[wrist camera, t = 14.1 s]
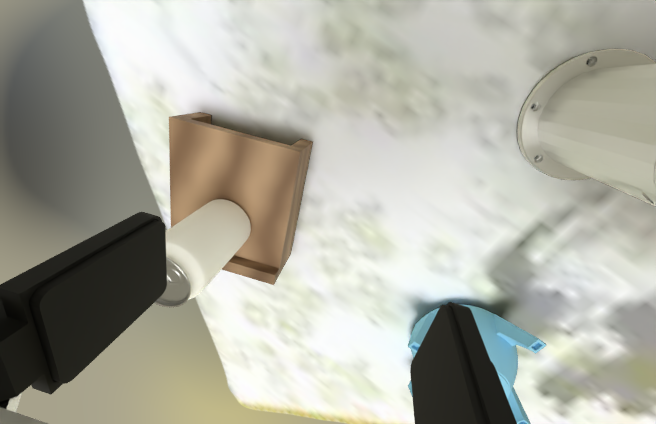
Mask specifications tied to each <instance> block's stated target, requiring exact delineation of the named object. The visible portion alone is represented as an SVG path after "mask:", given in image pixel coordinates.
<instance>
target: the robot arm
mask: <svg viewBox="0 0 656 424" xmlns="http://www.w3.org/2000/svg"><path fill="white" fill-rule="evenodd" d="M587 60H588V61H589V62H588V64H586V62H587ZM532 104H534V107H533V108H532V109H531V106H532ZM517 135H518V143H519V146H520V149H521V152H522V154H523V155H524V157H525V159H526V160H527V161H528V162H529V163H530V164H531V165H532V166H533V167H534V168H536V169H537V170H539V171H540V172H542V173H544V174H546V175H548V176H551V177H554V178H558V179H563V180H583V179H589V178H593V179H595V180H597V181H600V182H602V183H604V184H606V185H609V186H611V187H613V188H615V189H618V190H620V191H622V192H624V193H626V194H629V195H631V196H633V197H635V198H638V199H640V200H642V201H644V202H647V203H649V204H651V205H653V206H655V207H656V62H655V61H654V60H652V59H651V58H649V57H648V56H646V55H645V54H642V53H639V52H636V51H633V50H627V49H606V50H599V51H594V52H589V53H586V54H583V55H580V56H577V57H575V58H573V59H571V60H569V61H567V62H565V63H563V64H561V65H560V66H558V67H557V68H556V69H554V70H553V71H552V72H550V73H549V74H548V75H547V76H546V77H545V78H544V79H543V80H541V81H540V82H539V83H538V84H537V86H536V87H535V88H534V90H533V91H532V92H531V94H530V95H529V97H528V98H527V100H526V102H525V104H524V106H523V108H522V111H521V114H520V117H519V121H518V128H517ZM536 155H537V157H536V158H535V159H534V157H535V156H536ZM166 287H167V268H166V234H165V224H164V223H163V222H162V220H161V218H160V217H158V216H155V215H152V214H148V213H145V212H139V213H137V214H135V215H133V216H131V217H129V218H127V219H125V220H123V221H122V222H120V223H118V224H116V225H114V226H112V227H110V228H108V229H106V230H104V231H102V232H100V233H98V234H97V235H95V236H93V237H91V238H89V239H87V240H85V241H83V242H81V243H79V244H77V245H75V246H74V247H72V248H70V249H68V250H66V251H64V252H62V253H60V254H58V255H56V256H54V257H53V258H50V259H49V260H47V261H45V262H43V263H41V264H39V265H37V266H35V267H33V268H31V269H29V270H28V271H26V272H24V273H22V274H20V275H18V276H16V277H14V278H12V279H10V280H8V281H6V282H5V283H3V284H1V285H0V424H47V423H44V422H42V421H39V420H36V419H33V418H30V417H27V416H24V415H21V414H19V413H16V410H17V407H18V403H19V400H20V397H21V394H22V392H23V391H24V390H25V389H26V388H28V387H29V386H30V385H32V387H33V388H34V389H37V390H40V391H42V392H45V393H49V394H52V393H53V392H54V391H55V390H56V389H58V388H59V387H60V386H61V385H62V384H63V383H68V382H70V381H71V380H73V379H74V378H75V377H76V376H77V375H78V374H79V373H80V372H81V371H82V370H83V369H84V368H85V367H87V366H88V365H89V364H90V363H91V362H92V361H93V360H94V359H95V358H96V357H97V356H98V355H99V354H100V353H101V352H102V351H103V350H105V348H107V347H108V346H109V345H110V344H111V343H112V342H113V341H114V340H115V339H116V338H117V337H118V336H119V335H120V334H121V333H122V332H123V331H125V330H126V329H127V328H128V327H129V326H130V325H131V324H132V323H133V322H134V321H135V320H136V319H137V318H138V317H139V316H140V315H142V313H143V312H145V311H146V310H147V309H148V308H149V307H150V306H151V305H152V304H153V303H154V302H155V301H156V300H157V299H158V298H159V297H161V296H162V294H163V293H164V292H165V290H166ZM411 384H412V395H413V406H414V417H415V424H517V422H516V420H515V417H514V414H513V412H512V409H511V407H510V404H509V402H508V399H507V397H506V394H505V391H504V389H503V386H502V384H501V381H500V379H499V376H498V373H497V371H496V368H495V366H494V365H493V363H492V362H491V361H490V358H489V355H488V353H487V350H486V348H485V345H484V342H483V340H482V337H481V334H480V332H479V329H478V327H477V324H476V321H475V319H474V316H473V314H472V311H471V309H470V308H469V307H466V306H463V305H459V304H456V303H452V302H449V303H448V304H447V305H442V306H441V307H440V308H439V310H438V312H437V314H436V316H435V318H434V320H433V322H432V324H431V326H430V328H429V330H428V332H427V333H426V335H425V337H424V339H423V341H422V343H421V345H420V347H419V349H418V351H417V353H416V355H415V357H414V359H413V361H412V364H411Z"/></svg>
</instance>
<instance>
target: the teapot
mask: <svg viewBox="0 0 656 424" xmlns="http://www.w3.org/2000/svg"><path fill="white" fill-rule="evenodd" d="M459 305H463V304H459ZM463 306H466V307H469V308H470V309H471V311H472V314H473V316H474V319H475V321H476V324H477V327H478V329H479V332H480V334H481V337H482V340H483V342H484V345H485V348H486V350H487V353H488V355H489V358H490V361H491V362H492V363H493V365H494V366H495V368H496V371H497V373H498V376H499V379H500V381H501V384H502V386H503V389H504V391H505V394H506V397H507V399H508V402H509V404H510V407H511V409H512V412H513V414H514V417H515V420H516V422H517V424H531V423H530V421H529V419H528V417H527V415H526V413H525V411H524V409H523V407H522V404H521V402H520V400H519V398H518V396H517V394H516V392H515V390H514V388H513V385H514V381H515V378H516V374H517V368H518V355H517V349H516V345H519V346H522V347H524V348H527V349H529V350H531V351H533V352H534V353H537V352H538V351H540V350H541V349H542V348H544V347H545V346H546V344H545V343H544V342H542V341H541V340H540V339H538V338H537V337H535V336H533V335H531V334H529V333H528V332H526V331H524V330H522V329H521V328H519V327H517V326H515V325H513V324H512V323H510V322H508V321H506V320H504V319H503V318H501V317H499V316H497V315H495V314H493V313H491V312H489V311H487V310H484V309H482V308H479V307H475V306H470V305H463ZM438 310H439V308H437V309H435V310H433V311H431V312H429V313H428V314H426V315H425V316H424V317H423V318H421V319H420V320H419V321H418V322H417V323H416V324H415V327H414V329H413V331H412V334H411V338H410V341H409V344H408V347H409V348H411V351H412V355H413V358H414V357H415V355H416V353H417V351H418V349H419V347H420V345H421V343H422V341H423V339H424V337H425V335H426V333H427V332H428V330H429V328H430V326H431V324H432V322H433V320H434V318H435V316H436V314H437V312H438ZM408 387H409V389H410V392H411V394H412V384H411V381H410V383H409V385H408ZM412 397H413V395H412Z"/></svg>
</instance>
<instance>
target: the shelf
mask: <svg viewBox="0 0 656 424" xmlns="http://www.w3.org/2000/svg"><path fill="white" fill-rule="evenodd" d="M169 143H170V198H171V227H173V226H174V225H176V224H177V223H179V222H180V221H182V220H183V219H185V218H186V217H188V216H189V215H191V214H192V213H193V212H195V211H196V210H198V209H199V208H201V207H203V206H204V205H206V204H207V203H209V202H211V201H213V200H217V199H224V200H228V201H231V202H233V203H235V204H237V205H238V206H239V207H240V208H241V209H242V210H243V211H244V212H245V213H246V215H247V216H248V218H249V220H250V225H251V231H250V235H249V237H248V239H247V240H246V242H245V243H244V244H243V245H242V246H241V248H240V249H239V250H238V251H237V252H236V253H235V254H234V256H233V257H232V258H231V259H230V260H229V261H228V262H227V264H226V265H225V266H224V267H223V268H222V270H226V271H229V272H232V273H236V274H239V275H242V276H246V277H249V278H252V279H256V280H259V281H262V282H266V283H269V284H272V285H274V283H275V282H276V280H277V278H278V276H279V274H280V273H281V271H282V269H283V267H284V265H285V263H286V262H287V260H288V258H289V256H290V254H291V250H292V245H293V240H294V235H295V230H296V225H297V220H298V215H299V210H300V205H301V200H302V194H303V189H304V184H305V179H306V174H307V169H308V164H309V159H310V154H311V149H312V144H313V142H311V141H308V140H304V139H300V140H299V141H297V142H296V143H294V144H293V145H291V146H290V145H286V144H283V143H279V142H275V141H271V140H268V139H264V138H260V137H256V136H252V135H249V134H245V133H241V132H237V131H234V130H230V129H226V128H222V127H219V126H215V125H211V115H209V114H205V113H201V112H199V113H192V114H185V115H179V116H172V117H169Z"/></svg>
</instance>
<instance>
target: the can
mask: <svg viewBox="0 0 656 424" xmlns="http://www.w3.org/2000/svg"><path fill="white" fill-rule="evenodd" d="M250 231H251V225H250V220H249V218H248V216H247V215H246V213H245V212H244V211H243V210H242V209H241V208H240V207H239V206H238V205H237V204H235V203H233V202H231V201H228V200H224V199H217V200H213V201H211V202H209V203H207V204H206V205H204V206H203V207H201V208H199V209H198V210H196V211H195V212H193V213H192V214H191V215H189V216H188V217H186V218H185V219H183V220H182V221H180V222H179V223H177V224H176V225H174V226H173V227H171V228H170V229H168V230H167V231H165V234H166V268H167V287H166V290H165V292H164V293H163V294H162V296H161V297H159V298H158V299H157V300H156V301H155V302H154V303H156V304H158V305H161V306H164V307H178V306H181V305H183V304H184V303H185V302H186V301H187V300H189V299H192V298H194V297H196V296H197V295H198V294H199V293H201V292H202V291H203V289H204V288H205V287H206V286H207V285H208V284H209V283H210V282H211V281H212V279H213V278H214V277H215V276H216V275H217V274H218V273H219V272H220V270H221V269H222V268H223V267H224V266H225V265H226V264H227V262H228V261H229V260H230V259H231V258H232V257H233V256H234V254H235V253H236V252H237V251H238V250H239V249H240V248H241V246H242V245H243V244H244V243H245V242H246V240H247V239H248V237H249V235H250Z"/></svg>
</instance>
